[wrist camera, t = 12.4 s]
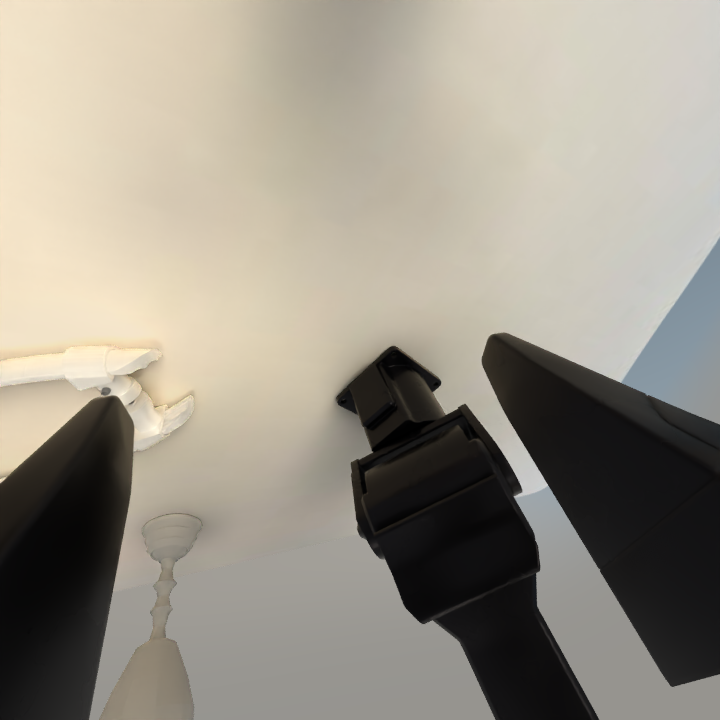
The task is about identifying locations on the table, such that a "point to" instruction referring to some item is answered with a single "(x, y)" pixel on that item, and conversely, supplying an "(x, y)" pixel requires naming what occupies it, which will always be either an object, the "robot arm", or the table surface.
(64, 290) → the table surface
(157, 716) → the chalice
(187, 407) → the door handle
